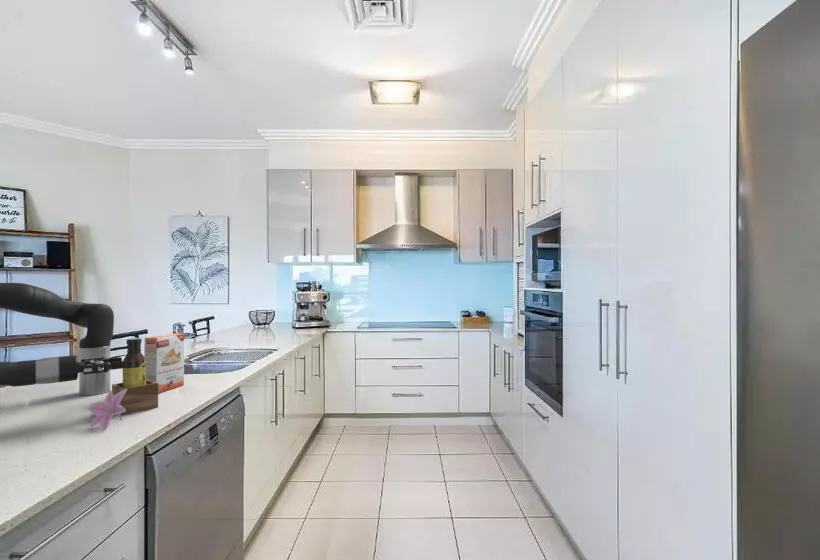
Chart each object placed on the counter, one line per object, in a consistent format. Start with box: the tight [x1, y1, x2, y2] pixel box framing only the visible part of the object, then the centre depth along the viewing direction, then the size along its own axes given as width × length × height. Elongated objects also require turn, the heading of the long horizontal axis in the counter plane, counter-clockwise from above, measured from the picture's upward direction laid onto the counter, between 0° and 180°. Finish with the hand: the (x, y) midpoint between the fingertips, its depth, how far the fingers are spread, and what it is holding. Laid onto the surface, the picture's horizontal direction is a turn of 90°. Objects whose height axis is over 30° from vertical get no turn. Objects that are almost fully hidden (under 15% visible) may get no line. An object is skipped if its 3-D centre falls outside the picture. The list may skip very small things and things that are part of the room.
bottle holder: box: [111, 379, 159, 416], centre depth 133 cm, size 10×10×8 cm
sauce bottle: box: [122, 337, 146, 388], centre depth 132 cm, size 6×6×20 cm
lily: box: [87, 389, 127, 432], centre depth 118 cm, size 12×12×10 cm
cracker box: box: [143, 333, 186, 394], centre depth 156 cm, size 14×6×21 cm, turn 168°
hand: (123, 362), depth 131 cm, fingers open, 8 cm apart
